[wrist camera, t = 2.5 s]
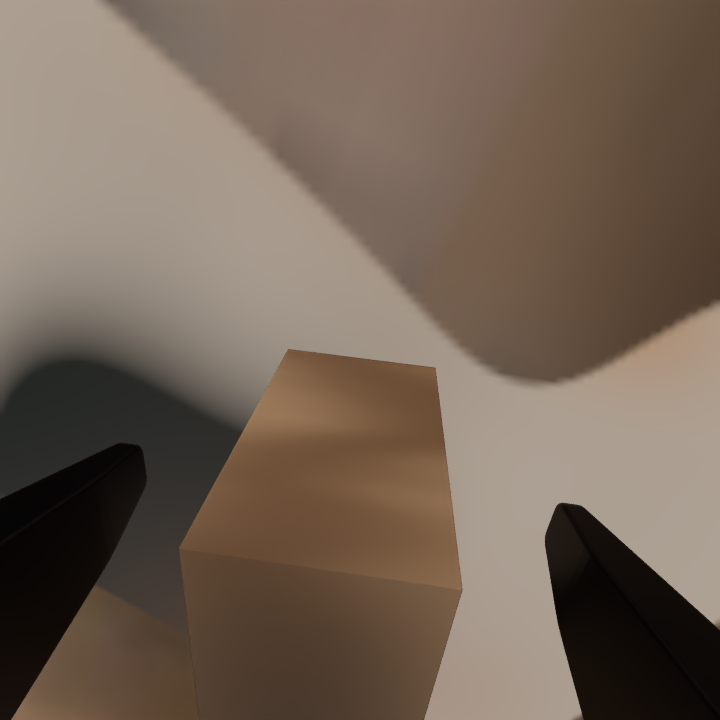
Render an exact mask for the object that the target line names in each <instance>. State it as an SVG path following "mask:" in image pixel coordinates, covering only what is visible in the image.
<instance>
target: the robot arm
mask: <svg viewBox="0 0 720 720" xmlns="http://www.w3.org/2000/svg"><path fill="white" fill-rule="evenodd" d="M146 481H147V475H146V468H145V461H144V455H143V450H142V448H141V447H140V446H139V445H135V444H128V443H118V444H115V445H113V446H111V447H109V448H107V449H105V450H102V451H100V452H98V453H96V454H94V455H92V456H90V457H88V458H86V459H84V460H81V461H79V462H77V463H75V464H73V465H71V466H69V467H67V468H65V469H63V470H60V471H58V472H56V473H54V474H52V475H50V476H48V477H46V478H43V479H41V480H39V481H37V482H35V483H33V484H31V485H29V486H27V487H24V488H22V489H20V490H18V491H16V492H14V493H12V494H10V495H8V496H5V497H3V498H1V499H0V720H11V719H12V718H13V716H14V714H15V713H16V711H17V710H18V708H19V706H20V705H21V703H22V701H23V700H24V698H25V697H26V695H27V693H28V692H29V690H30V688H31V687H32V685H33V684H34V682H35V680H36V679H37V677H38V676H39V674H40V672H41V671H42V669H43V667H44V666H45V664H46V663H47V661H48V659H49V658H50V656H51V655H52V653H53V651H54V650H55V648H56V646H57V645H58V643H59V642H60V640H61V638H62V637H63V635H64V633H65V632H66V630H67V629H68V627H69V625H70V624H71V622H72V621H73V619H74V617H75V616H76V614H77V612H78V611H79V609H80V608H81V606H82V604H83V603H84V601H85V599H86V598H87V596H88V595H89V593H90V591H91V590H92V588H93V587H94V585H95V583H96V582H97V580H98V578H99V577H100V575H101V574H102V572H103V570H104V569H105V567H106V565H107V563H108V562H109V560H110V558H111V556H112V554H113V553H114V551H115V549H116V547H117V545H118V542H119V540H120V538H121V536H122V534H123V532H124V530H125V528H126V526H127V524H128V522H129V520H130V518H131V516H132V514H133V512H134V510H135V508H136V506H137V503H138V501H139V499H140V497H141V495H142V493H143V491H144V489H145V486H146ZM545 547H546V554H547V560H548V566H549V572H550V579H551V584H552V591H553V597H554V604H555V610H556V615H557V621H558V626H559V630H560V634H561V637H562V641H563V645H564V649H565V653H566V656H567V660H568V664H569V667H570V671H571V675H572V678H573V682H574V685H575V689H576V693H577V697H578V700H579V704H580V708H581V711H582V715H583V719H584V720H720V630H719V629H718V628H717V627H716V626H715V625H714V624H713V623H711V622H710V621H709V620H708V619H707V618H706V617H705V616H704V615H703V614H701V613H700V612H699V611H698V610H697V609H696V608H695V607H694V606H693V605H691V604H690V603H689V602H688V601H687V600H686V599H685V598H684V597H683V596H682V595H680V594H679V593H678V592H677V591H676V590H675V589H674V588H673V587H672V586H670V585H669V584H668V583H667V582H666V581H665V580H664V579H663V578H662V577H660V576H659V575H658V574H657V573H656V572H655V571H654V570H653V569H652V568H650V567H649V566H648V565H647V564H646V563H645V562H644V561H643V560H642V559H640V558H639V557H638V556H637V555H636V554H635V553H633V551H632V550H630V549H629V548H628V547H627V546H626V545H625V544H624V543H623V542H621V541H620V540H619V539H618V538H617V537H616V536H615V535H614V534H613V533H612V532H610V531H609V530H608V529H607V528H606V527H605V526H604V525H603V524H602V523H600V522H599V521H598V520H597V519H596V518H595V517H594V516H593V515H592V514H590V513H589V512H588V511H587V510H586V509H585V508H584V507H582V506H580V505H575V504H568V503H560V504H558V505H557V506H556V508H555V511H554V513H553V516H552V519H551V521H550V523H549V526H548V529H547V532H546V535H545Z"/></svg>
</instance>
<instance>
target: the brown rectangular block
mask: <svg viewBox="0 0 720 720" xmlns="http://www.w3.org/2000/svg"><path fill="white" fill-rule="evenodd" d="M179 554H180V563H181V572H182V580H183V588H184V596H185V605H186V613H187V621H188V629H189V638H190V646H191V654H192V663H193V671H194V679H195V688H196V696H197V704H198V712H199V720H424V718H425V714H426V711H427V708H428V704H429V701H430V697H431V694H432V690H433V687H434V684H435V681H436V677H437V674H438V671H439V667H440V664H441V660H442V657H443V654H444V650H445V647H446V644H447V640H448V637H449V633H450V630H451V627H452V623H453V620H454V617H455V613H456V610H457V607H458V603H459V600H460V597H461V593H462V583H461V575H460V565H459V557H458V549H457V542H456V533H455V524H454V516H453V508H452V501H451V491H450V484H449V475H448V467H447V460H446V451H445V442H444V434H443V426H442V418H441V409H440V401H439V393H438V385H437V376H436V368H435V367H427V366H419V365H411V364H403V363H395V362H387V361H379V360H371V359H363V358H356V357H348V356H339V355H332V354H324V353H316V352H307V351H300V350H292V349H288V350H287V352H286V354H285V356H284V358H283V360H282V361H281V363H280V365H279V367H278V369H277V371H276V373H275V374H274V376H273V378H272V380H271V381H270V383H269V385H268V387H267V389H266V391H265V392H264V394H263V396H262V398H261V400H260V402H259V404H258V405H257V407H256V409H255V411H254V412H253V414H252V416H251V418H250V420H249V422H248V423H247V425H246V427H245V429H244V431H243V433H242V434H241V436H240V438H239V440H238V442H237V443H236V445H235V447H234V449H233V451H232V452H231V454H230V456H229V458H228V460H227V462H226V463H225V465H224V467H223V469H222V471H221V472H220V474H219V476H218V478H217V480H216V482H215V483H214V485H213V487H212V489H211V491H210V492H209V494H208V496H207V498H206V500H205V502H204V503H203V505H202V507H201V509H200V511H199V513H198V514H197V516H196V518H195V520H194V522H193V524H192V525H191V527H190V529H189V531H188V533H187V534H186V536H185V538H184V540H183V542H182V544H181V546H180V547H179Z"/></svg>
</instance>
